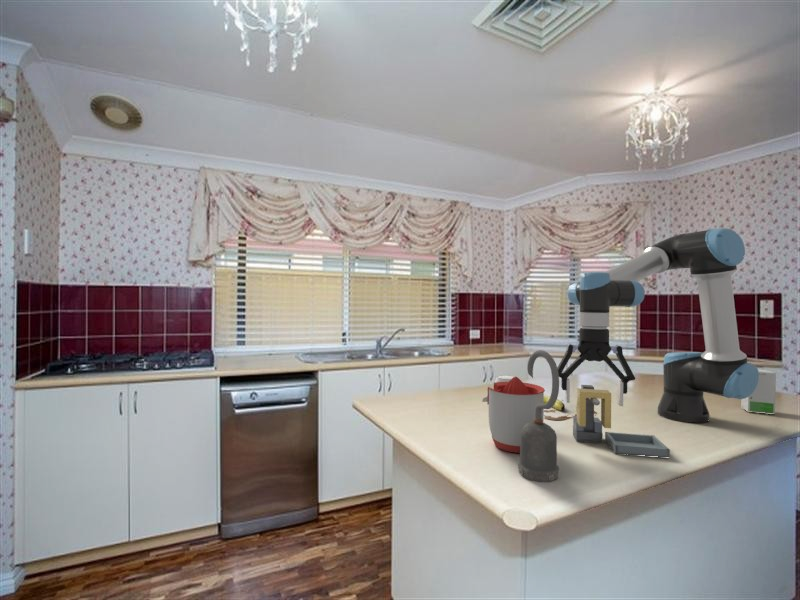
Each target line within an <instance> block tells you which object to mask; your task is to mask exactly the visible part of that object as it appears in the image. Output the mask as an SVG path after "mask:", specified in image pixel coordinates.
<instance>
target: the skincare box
mask: <svg viewBox="0 0 800 600" xmlns="http://www.w3.org/2000/svg"><path fill="white" fill-rule="evenodd" d="M758 372H759V380H758V384H757V387H756V389H755V390H754V392H753V393H752V394H751V395H750V396H749V397H747V398H744V399H740V401H741V402H740V403H741V404H740V405H741V406H740V408H741V409H742V408H743V409H745V410H746V411H752V412H765V413H775V414H776V394H777V392H776V389H777V372H774V371H771V370H769V369H768V370H766V369H758ZM743 409H742V410H743ZM745 410H744V411H745ZM746 411H745V412H746Z"/></svg>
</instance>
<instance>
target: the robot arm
mask: <svg viewBox="0 0 800 600" xmlns="http://www.w3.org/2000/svg"><path fill="white" fill-rule="evenodd" d="M744 243H745V242H744V241H743V239H742V237H741V236H740V235H739V233H737V232H736V231H735V230H733V229H731V228H725V227H724V228H711V229H707V230H702V231H700V230H699V231H693V232H688V233H680V234H676V235H673V236H671V237H668V238H666V239H663V240H661V241H659V242H657V243H655V244H652V245H651V246H649V247H647V248H645V249H644V250H643V251H642V253H641V254H639V255H637V256H635V257H633V258H631V259H629V260H627V261H625V262H623V263H621V264H619V265H617V266H615V267H613V268H610V269H609V270H606V271H604V272H602V271H601V272H600V271H599V272H597V271H596V272H594V271H593V272H583V273H581V275H580V277H579V278H580V279H579V280H580V281H578V282H574V283H572V284H570V285H569V287H568V289H567V298H568V300H569V302H570V303H571V304H573V305H577V306H579V327H580V328H579V331H578V333H579V335H578V336H579V337H578V341H579V342H578V344H571V343H568V344H567V345H566V352H565V353H564V355H563V357H562V358H561V360H560V362H559V364H558V366H557V368H558V373H559V379H561V386H560V387H561V390H562V391H565V393H564V395H565V397H564V398H565V399H564V402H566V403H567V404H570V403H571V401H570V398H571V394H570V393H571V391H570V390H571V384H570V383H571V380H570V378H569V377H570V376H571V374H572V373H573V372H575V370H576V369H577V368H578V367H580V365H581V364H582V363H584V362H585V361H588V362H595V361H596V362H602V361H603V362H605V364H606V365H607V366H608V367H609V368H610V370H612V371H613V373H614V374H615V375H616V376H617V378H618V379H620V380H617V382H616V383H617V391H616V392H617V394H616V395H617V397H616V398H617V399H616V400H617V402H616V403H617V405H618V406H619V407H624V394H625V395H626V394H628V383H629V382H630V381H635V379H636V377H635V375H634V373H633V371H632V369H631V367H630V366H629V365H630V364H628V361H627V359H626V358H625V356H624V353H623V348H622V346H620V345H618V344H616V345H613V346H611V345H610V329H609V328H608V327H610V310H611V309H610V307H626V308H627V307H628V308H630V307H635V306H639V305H640V304H642V302H643V301H644V299H645V293H646V292H645V288H644V286H643V285H642V284H641V283H640V281H641V280H643V279H646V278H647V277H649V276H652V275H653V274H662V273H665V272H666V271H670V270H678V269H689V270H690V271H689V272H690V276H692V277H694V279H696V281H697V289H698V297H699V306H700V312H701V313H700V314H701V320H702V329H703V330H702V331H703V339H704V346H705V347H704V348H705V351H703V352H702V351H701V352H700V351H683V352H682V351H680V352H679V351H677V352H667V353H666V354H665V355H664V356H663V357H664V358H663V363H662V367H663V392H662V396H661V398H660V401H659V403H658V406H657V414H658V415H659V416H660V417H663V418H665V417H666V418H665V419H669V418H670V420H672V419H674V421H677V420H679V421H678V422H683V421H685V422H686V423H692V422H704V423H707V422H706V421H708V420H709V419H710V416H711V415H710V412H709V411H710V410H709V409H708V407H707V403H706V401H705V397H704V393H707V394H712V395H715V396H716V395H717V396H720V397H724V398H727V399H730V398H731V399H737V400H741V399H744V398H747V397H749V396H750V395H751V394H752V393H753V392H754V390H755V389H756V387H757V384H758V380H759V372H758V370H759V369H758V368H757V365H755V364H753V363H751V362H748V358H747V357H748V356H747V355H748V354H746V353H744V352H743V351H742V350H741V349H740V341H739V333H738V322H737V315H736V308H735V307H736V306H735V298H734V296H735V295H734V288H733V280H732V275H733V274H734V273H735V272H736V271H737V268H738V267H737V266H738V265H740V264H741V263H742V262H743V260H744V256H745V254H746V247H745V244H744ZM576 350H577V351H578V352H579V353H580V354H579V355H578V356H577V357H576V358H575V360H574V361H573V362H572V363H571V364H570V365H569V366H568V367H567V364H568V362H569V360H570V358H572V357H571V356H573V353H575V352H576ZM611 352H612V353H613V354H615V357H617V359H618V362H619V364H620V365H621V367H622V369H623V371H624V372H625V375H624V373H623V372H622V371H621V370H620V369H619V368H618V367H617V365H616V364H615V362H613V361H612V360H611V359H610V357H609V356H608V355H609V354H610V353H611ZM566 367H567V368H566ZM565 368H566V369H565ZM564 369H565V370H564ZM709 421H710V420H709ZM709 421H708V422H709ZM685 422H684V423H685Z"/></svg>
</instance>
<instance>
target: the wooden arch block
mask: <svg viewBox="0 0 800 600" xmlns="http://www.w3.org/2000/svg"><path fill="white" fill-rule="evenodd" d="M586 398H597V399H598V400H599V399H600V400H601V402H600V409H601V410H600V421H601V424H602V427H604V428H603V429H612V393H611V392H610V391H609V390H608V389H598V388H597V389H596V388H594V389H581V388H576V414H577V423H578V424H579V426H586Z"/></svg>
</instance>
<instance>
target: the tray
mask: <svg viewBox="0 0 800 600" xmlns="http://www.w3.org/2000/svg"><path fill="white" fill-rule="evenodd" d="M604 441H605V443H607V445H608V446H609V448H610V447H611V448H610V449H611V450H612V451H614V452H613V453H614V455H618V454H626V455H625V456H630V455H645V456H658V457H671V456H670V454H671V451H670V449H671V448H669V447H668V446H666V444H664V443H663V442H662V441H661V440H660V439H659V438H657V436H655V435H653V434H652V435H649V434H640V433H639V434H638V433H628V432H627V433H626V432H624V433H623V432H613V431H604ZM627 454H628V455H627Z"/></svg>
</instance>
